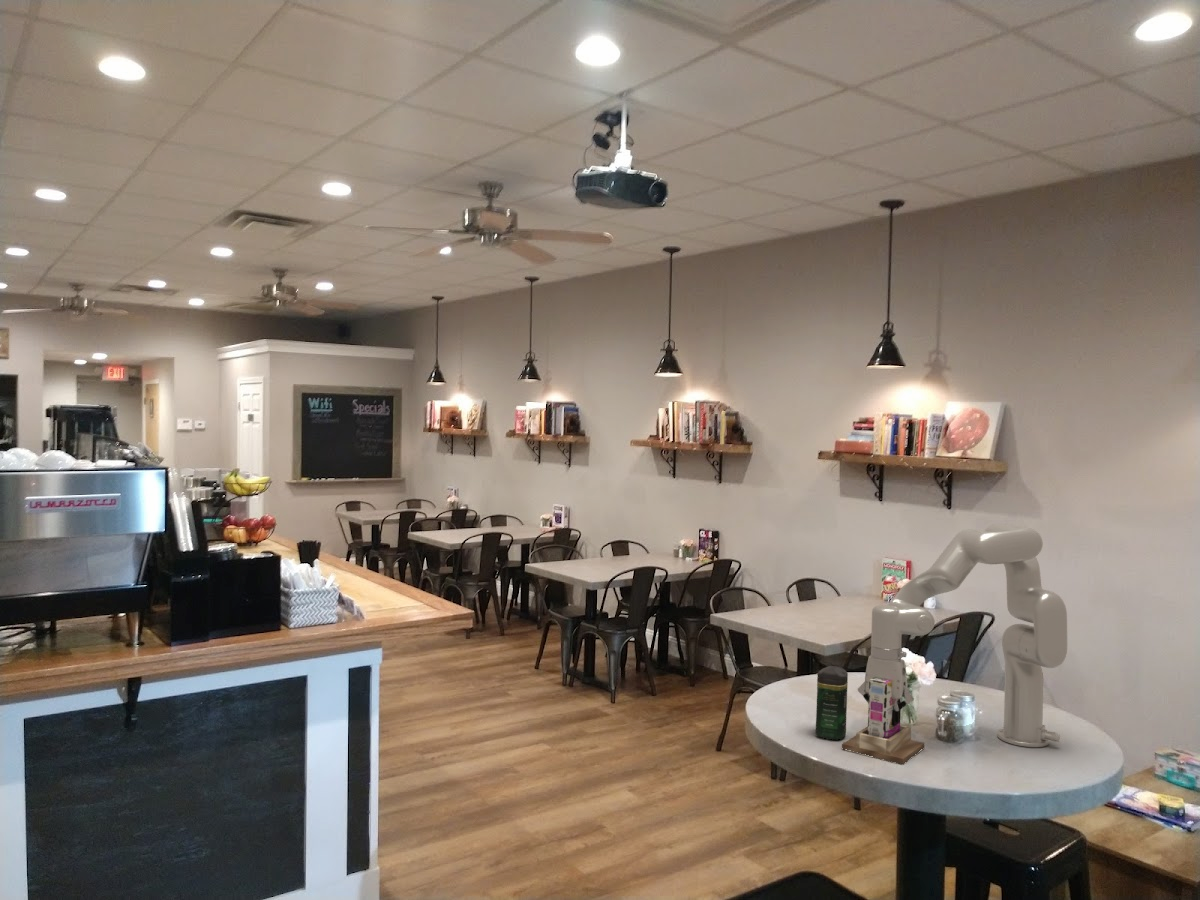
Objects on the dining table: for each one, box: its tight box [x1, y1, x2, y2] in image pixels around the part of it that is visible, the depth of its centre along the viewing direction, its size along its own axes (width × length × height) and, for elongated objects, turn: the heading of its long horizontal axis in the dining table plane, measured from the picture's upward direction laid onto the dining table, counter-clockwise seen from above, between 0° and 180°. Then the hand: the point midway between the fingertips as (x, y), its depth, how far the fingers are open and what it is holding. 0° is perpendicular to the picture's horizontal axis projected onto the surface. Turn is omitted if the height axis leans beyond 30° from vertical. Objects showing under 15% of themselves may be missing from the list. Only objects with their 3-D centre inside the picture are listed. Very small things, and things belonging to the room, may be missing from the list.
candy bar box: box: [867, 678, 901, 739], centre depth 229 cm, size 11×5×16 cm, turn 141°
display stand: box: [841, 724, 925, 765], centre depth 229 cm, size 16×16×5 cm
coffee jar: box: [815, 665, 849, 740], centre depth 239 cm, size 10×8×19 cm
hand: (884, 721), depth 229 cm, fingers closed on candy bar box, 5 cm apart
